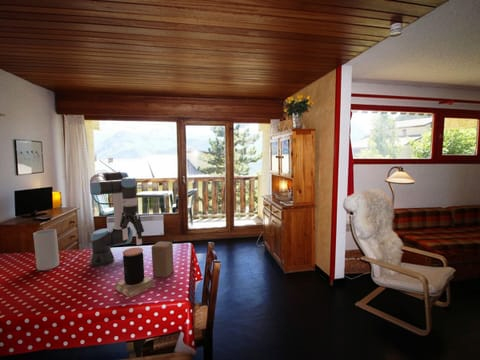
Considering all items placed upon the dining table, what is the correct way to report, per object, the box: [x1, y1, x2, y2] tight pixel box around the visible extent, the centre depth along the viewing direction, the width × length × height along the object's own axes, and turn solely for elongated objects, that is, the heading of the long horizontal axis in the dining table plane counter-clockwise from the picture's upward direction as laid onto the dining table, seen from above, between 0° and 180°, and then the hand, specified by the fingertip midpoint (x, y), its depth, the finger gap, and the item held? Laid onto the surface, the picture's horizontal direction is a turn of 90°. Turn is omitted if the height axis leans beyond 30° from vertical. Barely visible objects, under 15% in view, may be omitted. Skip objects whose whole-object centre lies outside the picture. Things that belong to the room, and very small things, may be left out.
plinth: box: [115, 275, 155, 298], centre depth 146 cm, size 15×15×4 cm
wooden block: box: [151, 240, 175, 278], centre depth 161 cm, size 10×10×20 cm
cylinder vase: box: [32, 228, 60, 271], centre depth 174 cm, size 12×12×25 cm
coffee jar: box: [122, 247, 145, 285], centre depth 145 cm, size 11×11×18 cm
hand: (132, 241), depth 143 cm, fingers open, 13 cm apart
